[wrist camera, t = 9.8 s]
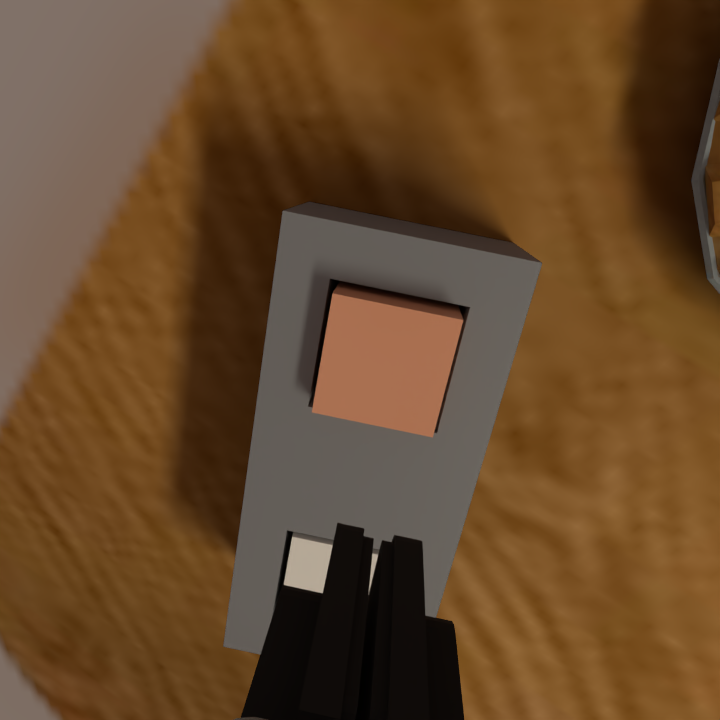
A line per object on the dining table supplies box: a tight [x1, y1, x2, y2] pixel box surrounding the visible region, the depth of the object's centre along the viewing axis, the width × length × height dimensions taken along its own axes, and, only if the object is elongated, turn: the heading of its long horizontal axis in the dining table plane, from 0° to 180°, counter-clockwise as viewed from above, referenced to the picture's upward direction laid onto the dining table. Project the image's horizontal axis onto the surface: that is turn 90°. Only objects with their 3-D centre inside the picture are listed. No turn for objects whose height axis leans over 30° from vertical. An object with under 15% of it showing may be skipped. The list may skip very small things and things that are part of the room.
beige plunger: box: [284, 532, 379, 595], centre depth 30 cm, size 5×5×6 cm
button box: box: [223, 202, 542, 654], centre depth 28 cm, size 22×10×6 cm, turn 169°
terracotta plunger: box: [312, 281, 463, 437], centre depth 24 cm, size 5×5×6 cm
